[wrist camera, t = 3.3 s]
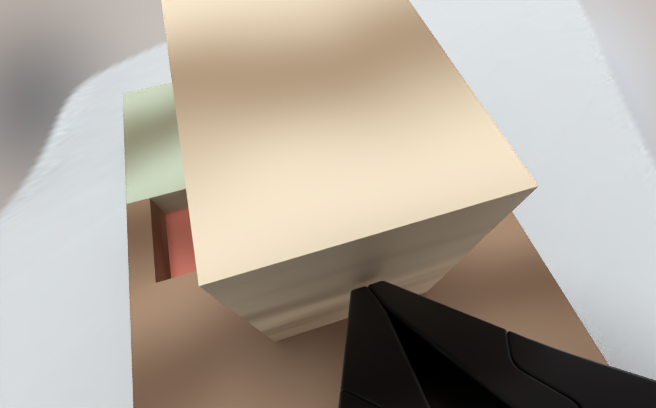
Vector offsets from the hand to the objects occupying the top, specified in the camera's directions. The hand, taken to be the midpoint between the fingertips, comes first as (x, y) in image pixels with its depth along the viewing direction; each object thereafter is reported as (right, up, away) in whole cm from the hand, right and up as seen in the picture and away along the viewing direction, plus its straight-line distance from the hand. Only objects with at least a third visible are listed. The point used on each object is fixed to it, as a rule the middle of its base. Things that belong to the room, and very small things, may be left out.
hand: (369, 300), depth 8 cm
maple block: (-1, +2, +6) cm, 7 cm away
